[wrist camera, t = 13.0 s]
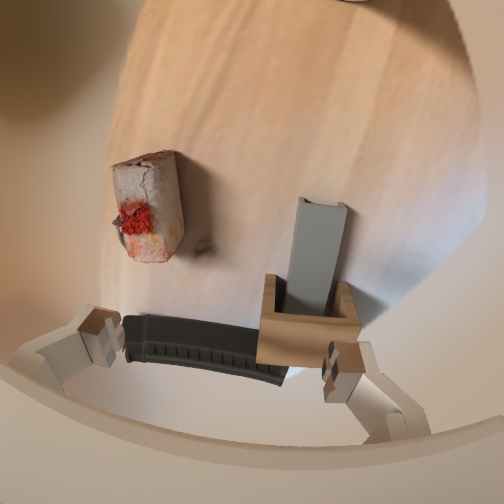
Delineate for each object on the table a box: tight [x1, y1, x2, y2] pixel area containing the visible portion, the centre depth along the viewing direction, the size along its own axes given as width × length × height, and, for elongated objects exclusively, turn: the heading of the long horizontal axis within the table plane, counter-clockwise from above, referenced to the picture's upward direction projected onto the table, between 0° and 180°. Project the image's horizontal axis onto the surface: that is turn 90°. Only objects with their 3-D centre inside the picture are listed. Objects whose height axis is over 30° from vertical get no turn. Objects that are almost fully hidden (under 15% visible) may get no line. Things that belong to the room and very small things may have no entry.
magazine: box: [121, 314, 289, 387], centre depth 43 cm, size 17×3×30 cm
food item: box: [111, 150, 185, 263], centre depth 34 cm, size 14×8×10 cm, turn 4°
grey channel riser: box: [281, 197, 348, 317], centre depth 40 cm, size 20×6×3 cm, turn 176°
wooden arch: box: [256, 274, 362, 368], centre depth 39 cm, size 8×12×10 cm, turn 86°
